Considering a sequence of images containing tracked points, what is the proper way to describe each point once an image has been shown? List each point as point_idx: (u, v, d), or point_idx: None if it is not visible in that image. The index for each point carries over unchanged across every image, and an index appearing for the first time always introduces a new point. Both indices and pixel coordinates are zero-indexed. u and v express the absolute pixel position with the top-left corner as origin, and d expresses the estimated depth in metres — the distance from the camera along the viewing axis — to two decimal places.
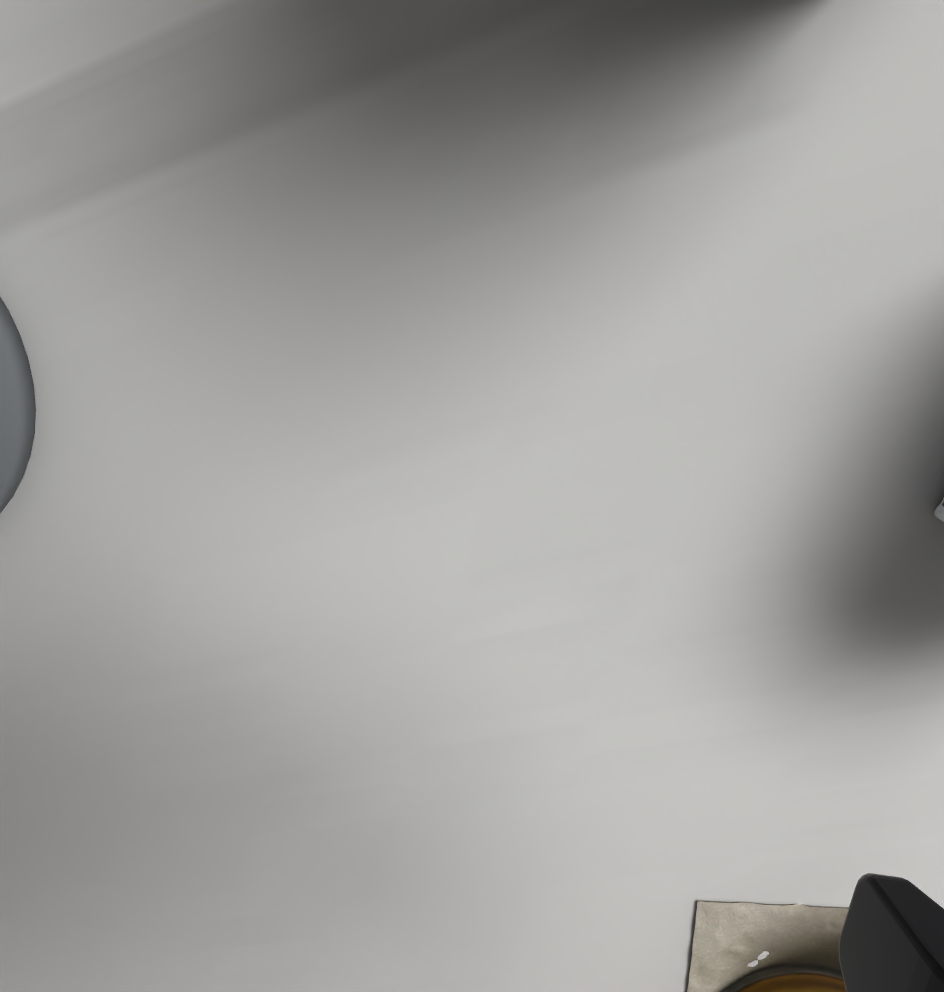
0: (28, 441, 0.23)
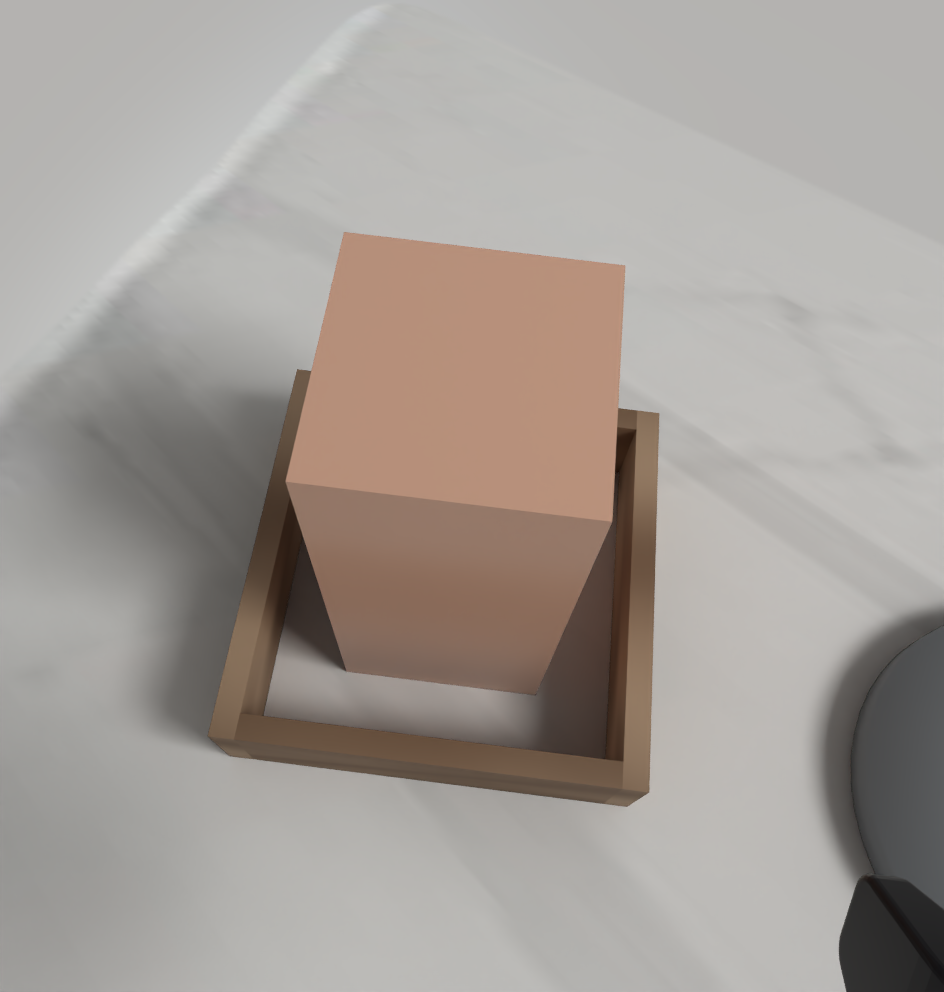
0: None
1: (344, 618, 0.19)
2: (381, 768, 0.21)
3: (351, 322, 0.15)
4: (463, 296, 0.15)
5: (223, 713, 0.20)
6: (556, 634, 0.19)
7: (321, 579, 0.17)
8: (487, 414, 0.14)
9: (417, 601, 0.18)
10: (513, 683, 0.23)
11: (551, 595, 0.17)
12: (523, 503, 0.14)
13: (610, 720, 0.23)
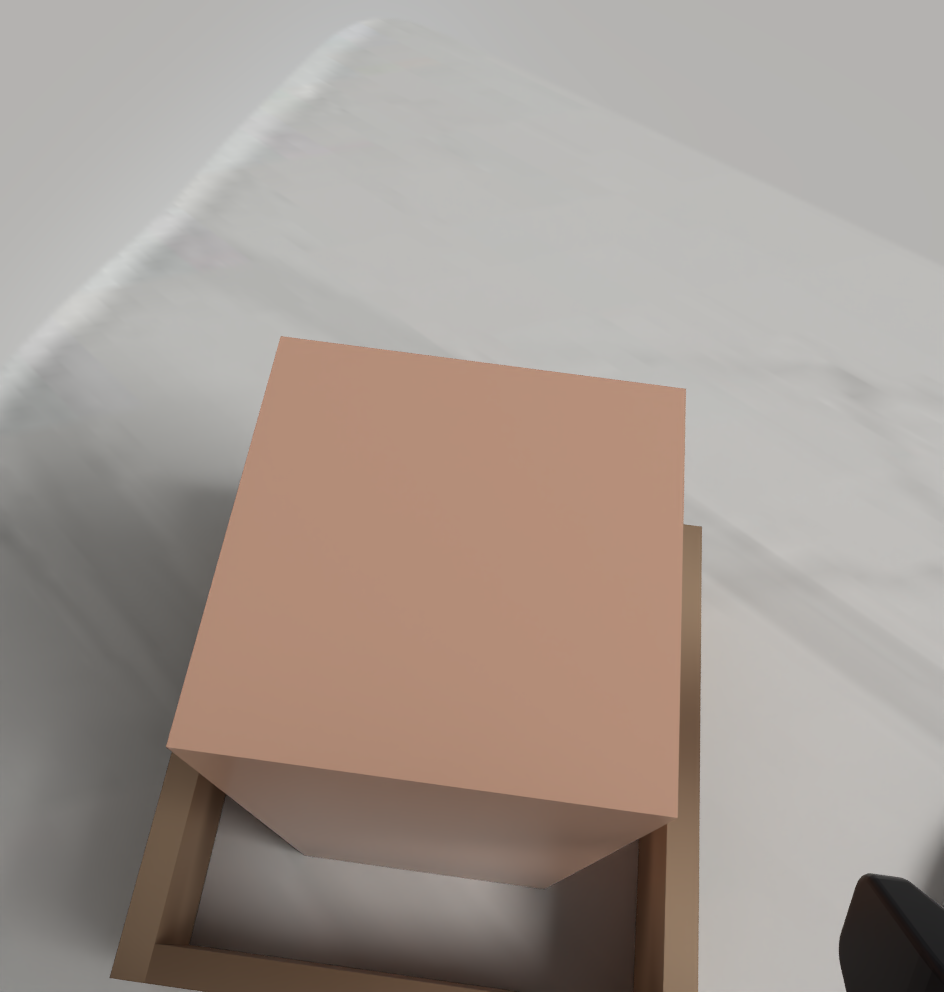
0: None
1: (290, 831, 0.14)
2: None
3: (283, 477, 0.10)
4: (450, 436, 0.10)
5: (132, 944, 0.15)
6: (576, 866, 0.14)
7: (250, 809, 0.12)
8: (483, 628, 0.09)
9: (386, 833, 0.13)
10: (516, 881, 0.18)
11: (573, 848, 0.12)
12: (536, 783, 0.09)
13: (640, 930, 0.18)
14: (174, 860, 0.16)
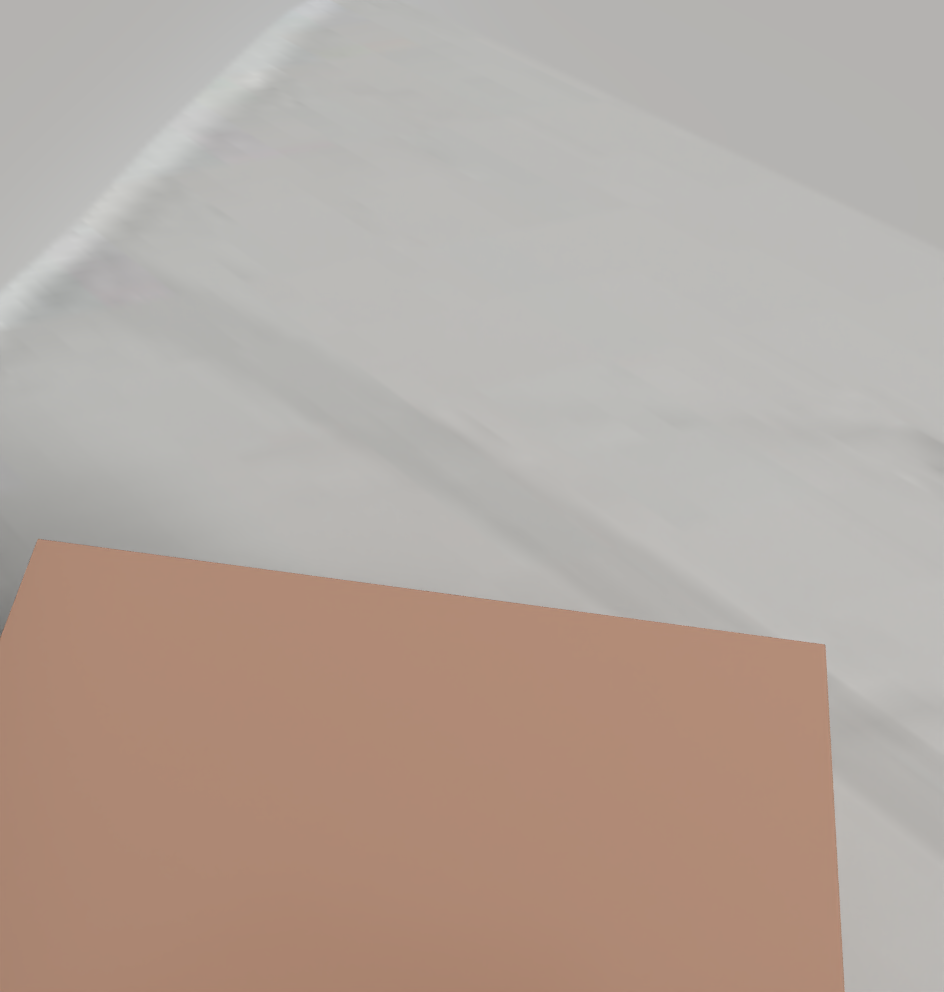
0: None
1: None
2: None
3: (2, 876, 0.05)
4: (359, 764, 0.05)
5: None
6: None
7: None
8: None
9: None
10: None
11: None
12: None
13: None
14: None
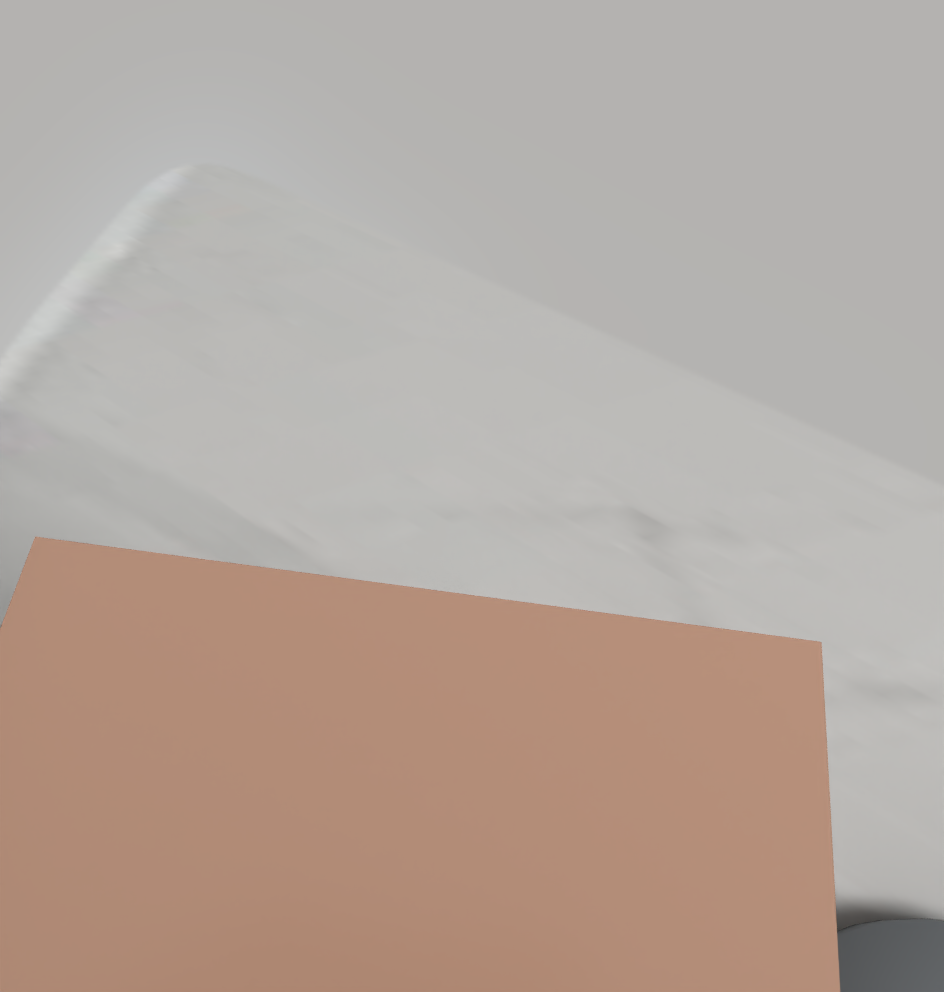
0: None
1: None
2: None
3: None
4: (355, 761, 0.05)
5: None
6: None
7: None
8: None
9: None
10: None
11: None
12: None
13: None
14: None
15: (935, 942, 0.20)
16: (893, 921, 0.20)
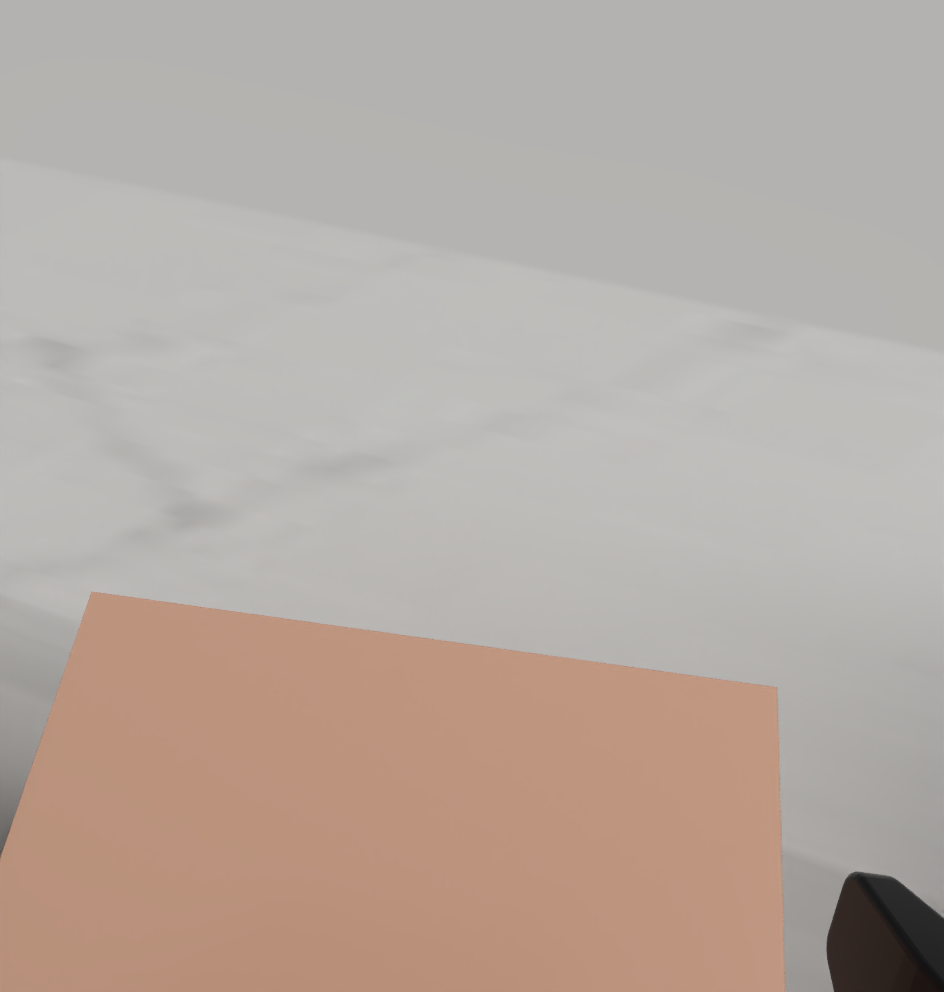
0: None
1: None
2: None
3: (68, 887, 0.06)
4: (372, 791, 0.06)
5: None
6: None
7: None
8: None
9: None
10: None
11: None
12: None
13: None
14: None
15: None
16: None
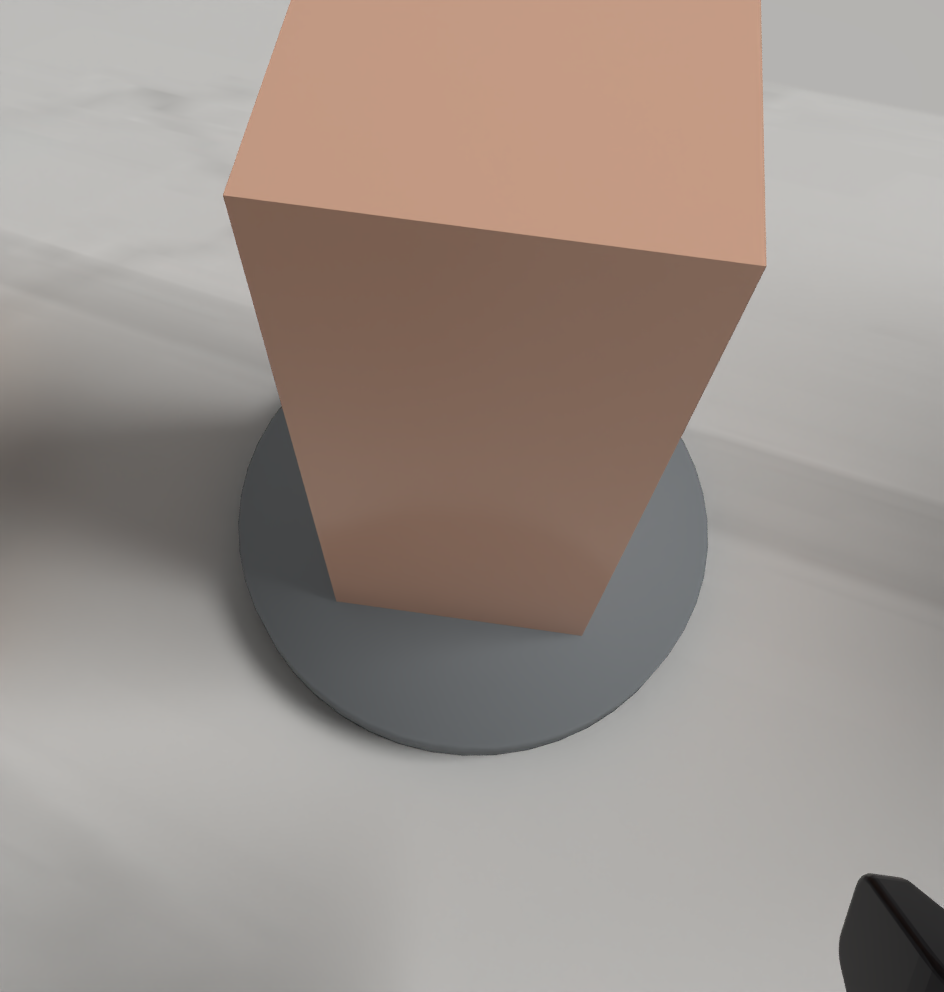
0: (608, 712, 0.18)
1: (330, 505, 0.14)
2: None
3: None
4: None
5: None
6: (627, 526, 0.13)
7: (294, 428, 0.12)
8: (553, 113, 0.09)
9: (433, 468, 0.12)
10: (554, 616, 0.17)
11: (633, 448, 0.11)
12: (616, 236, 0.08)
13: None
14: None
15: None
16: None
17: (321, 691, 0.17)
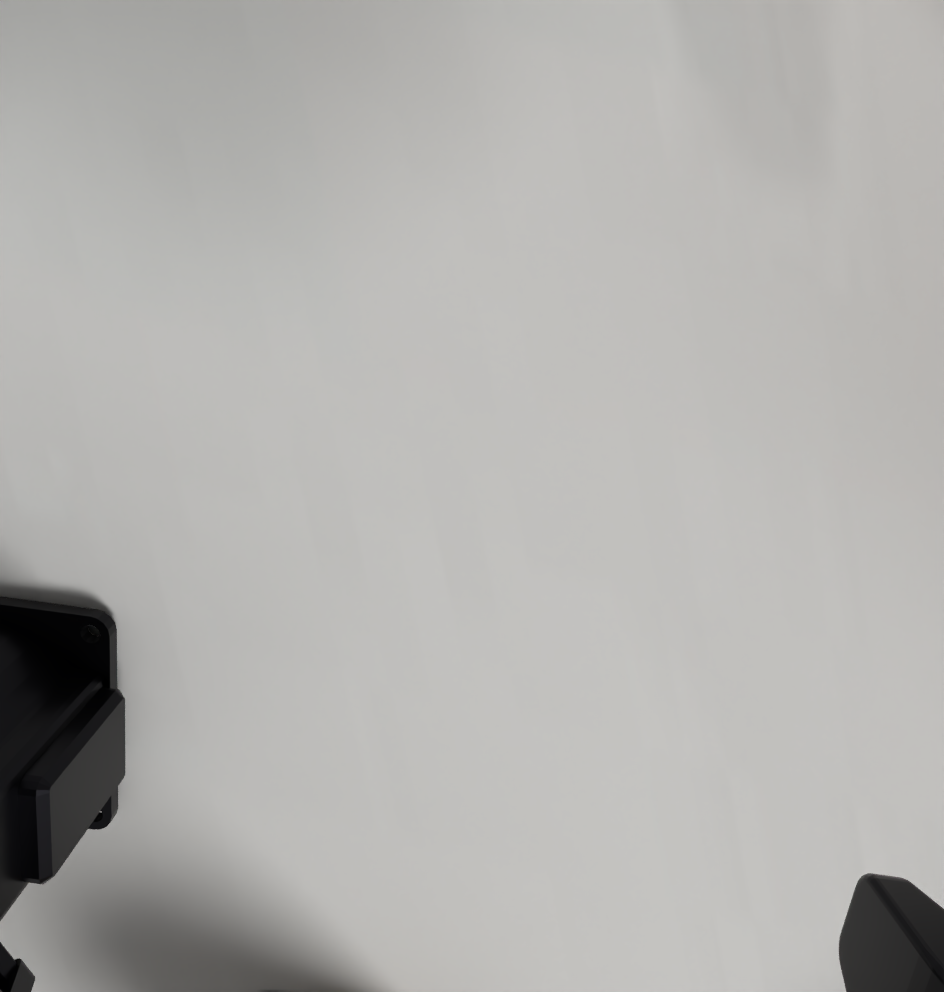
0: None
1: None
2: None
3: None
4: None
5: None
6: None
7: None
8: None
9: None
10: None
11: None
12: None
13: None
14: None
15: None
16: None
17: None
